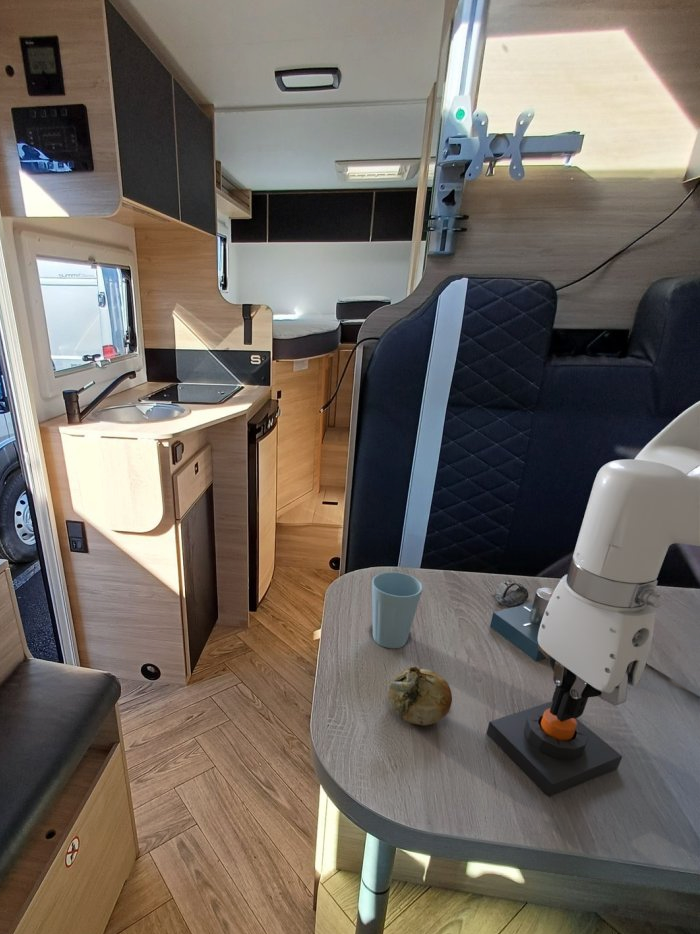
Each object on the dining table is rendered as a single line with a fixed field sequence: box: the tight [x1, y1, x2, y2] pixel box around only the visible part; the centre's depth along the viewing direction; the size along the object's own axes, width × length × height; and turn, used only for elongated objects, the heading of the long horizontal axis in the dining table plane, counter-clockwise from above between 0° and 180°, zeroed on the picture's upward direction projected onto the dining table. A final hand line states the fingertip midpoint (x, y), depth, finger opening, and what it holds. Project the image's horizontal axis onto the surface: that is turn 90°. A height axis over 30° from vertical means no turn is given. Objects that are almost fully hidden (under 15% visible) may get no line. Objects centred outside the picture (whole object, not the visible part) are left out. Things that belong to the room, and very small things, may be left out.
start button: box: [541, 708, 577, 741], centre depth 62 cm, size 4×4×2 cm
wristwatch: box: [495, 578, 530, 607], centre depth 95 cm, size 3×5×5 cm
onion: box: [388, 665, 453, 726], centre depth 68 cm, size 8×8×8 cm
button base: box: [486, 700, 623, 798], centre depth 63 cm, size 11×10×4 cm
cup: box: [371, 571, 424, 649], centre depth 83 cm, size 8×8×10 cm
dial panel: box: [489, 602, 547, 662], centre depth 85 cm, size 12×10×3 cm
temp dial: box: [529, 587, 556, 626], centre depth 84 cm, size 4×4×5 cm
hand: (564, 714), depth 62 cm, fingers closed
